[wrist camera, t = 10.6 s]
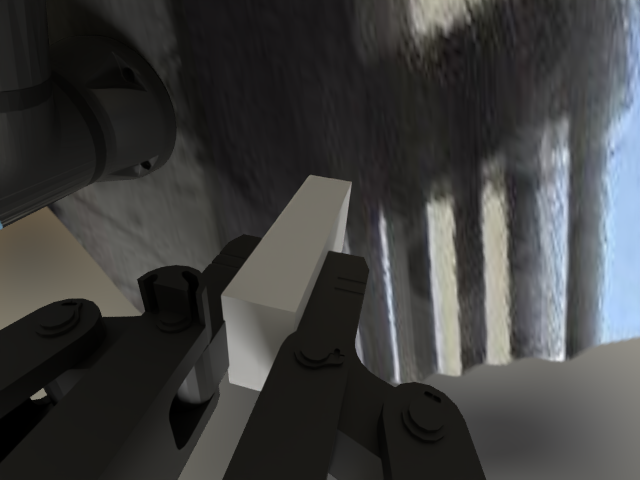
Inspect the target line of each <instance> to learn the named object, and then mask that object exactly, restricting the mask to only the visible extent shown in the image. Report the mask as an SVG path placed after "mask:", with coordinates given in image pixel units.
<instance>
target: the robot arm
mask: <svg viewBox="0 0 640 480" xmlns="http://www.w3.org/2000/svg"><path fill="white" fill-rule="evenodd" d="M175 140H176V121H175V115H174V111H173V107H172V104H171V101H170V99H169V96H168V94H167V92H166V90H165V88H164V86H163V84H162V82H161V81H160V79H159V78H158V76H157V75H156V73H155V72H154V71H153V69H152V68H151V67H150V66H149V65H148V64H147V62H146V61H145V60H144V59H143V58H141V57H140V56H139V55H138V54H137V53H136V52H135V51H133V50H132V49H130V48H129V47H127V46H126V45H124V44H122V43H121V42H118V41H116V40H114V39H111V38H108V37H104V36H96V35H91V36H72V37H68V38H65V39H62V40H60V41H58V42H56V43H55V44H53V45H51V46H49V39H48V26H47V12H46V0H0V229H2V228H4V227H6V226H8V225H10V224H12V223H14V222H16V221H18V220H20V219H22V218H24V217H26V216H27V215H30V214H31V213H34V212H36V211H38V210H40V209H41V208H44V207H46V206H48V205H50V204H52V203H54V202H56V201H58V200H60V199H62V198H64V197H66V196H67V195H69V194H71V193H73V192H75V191H77V190H79V189H81V188H83V187H85V186H88V185H90V184H92V183H94V182H105V181H118V180H131V179H137V178H140V177H143V176H146V175H148V174H150V173H151V172H153V171H155V170H157V169H159V168H160V167H162V166H163V165H164V164H165V163H166V162H167V160H168V159H169V157H170V156H171V154H172V151H173V149H174V145H175ZM351 184H352V182H348V181H342V180H336V179H330V178H325V177H319V176H313V175H309V176H308V178H307V179H306V181H305V182H304V183H303V185H302V186H301V187H300V189H299V190H298V191H297V193H296V194H295V195H294V197H293V198H292V200H291V201H290V202H289V204H288V205H287V206H286V208H285V209H284V210H283V212H282V213H281V214H280V216H279V217H278V219H277V220H276V221H275V223H274V224H273V225H272V227H271V228H270V229H269V231H268V232H267V233H266V235H265V236H264V237H263V238H260V237H255V236H250V235H245V234H243V235H242V236H240V237H238V238H236V239H234V240H232V241H230V242H229V243H228V244H227V245H226V246H225V247H224V248H223V250H222V251H221V252H220V254H219V255H217V256H216V258H215V259H214V260H213V261H212V264H209V265H208V267H207V268H206V269H205V270H204V271H203V272H202V273H201V272H200V271H199V270H196V269H194V268H191V267H189V266H179V265H174V266H166V267H161V268H158V269H155V270H152V271H150V272H147V273H146V274H144V275H143V276H141V277H140V278H138V279H137V281H138V284H139V288H140V292H141V296H142V300H143V304H144V308H145V312H144V313H143V314H142V316H134V317H133V316H132V317H131V316H130V317H102V315H101V312H100V310H99V308H98V306H97V305H96V304H95V303H94V302H92V301H89V300H86V299H66V300H62V301H57V302H53V303H51V304H49V305H46V306H44V307H42V308H39V309H38V310H36V311H34V312H32V313H30V314H29V315H27V316H25V317H23V318H21V319H20V320H18V321H16V322H14V323H12V324H10V325H9V326H7V327H5V328H3V329H2V330H0V480H178V478H179V476H180V474H181V472H182V470H183V468H184V466H185V465H186V463H187V461H188V459H189V457H190V455H191V453H192V451H193V449H194V447H195V446H196V444H197V442H198V440H199V438H200V436H201V434H202V432H203V430H204V429H205V427H206V425H207V423H208V421H209V419H210V417H211V415H212V414H213V412H214V410H215V408H216V406H217V403H218V400H219V396H220V394H219V384H220V382H221V380H222V378H223V376H224V375H225V373H226V371H227V369H228V373H229V382H230V383H233V384H237V385H240V386H243V387H247V388H251V389H254V390H258V391H261V392H260V395H259V397H258V399H257V401H256V404H255V406H254V408H253V411H252V413H251V415H250V417H249V420H248V422H247V424H246V427H245V429H244V431H243V434H242V436H241V438H240V440H239V443H238V445H237V447H236V450H235V452H234V454H233V456H232V459H231V461H230V463H229V466H228V468H227V470H226V473H225V475H224V477H223V479H222V480H327V477H328V473H329V474H331V475H332V476H333V477H335V478H336V479H337V480H486V478H485V475H484V472H483V470H482V467H481V464H480V461H479V458H478V455H477V453H476V450H475V447H474V444H473V442H472V439H471V436H470V433H469V430H468V428H467V425H466V422H465V420H464V418H463V416H462V414H461V413H460V411H459V409H458V407H457V406H456V405H455V404H454V403H453V402H452V401H451V400H450V399H449V398H448V397H447V396H446V395H445V394H444V393H443V392H441V391H439V390H437V389H435V388H434V387H432V386H430V385H426V384H421V383H417V382H411V383H404V384H400V385H398V386H397V387H393V386H392V385H390V384H388V383H387V382H385V381H383V380H381V379H380V378H378V377H377V376H375V375H374V374H372V373H371V372H370V371H369V370H368V369H367V368H366V367H365V366H364V365H363V364H362V363H361V361H360V359H359V357H358V356H357V353H356V349H355V338H356V334H357V329H358V324H359V319H360V314H361V309H362V304H363V299H364V294H365V289H366V283H367V278H368V273H369V269H368V266H367V264H366V261H365V259H364V257H359V256H354V255H349V254H344V253H341V251H342V248H343V241H344V234H345V227H346V220H347V212H348V205H349V198H350V191H351ZM42 388H44V390H45V392H46V393H47V396H45V397H43V398H41V399H36V400H31V399H30V397H31V396H32V395H34V394H35V393H36V392H38V391H39V390H41V389H42Z"/></svg>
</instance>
